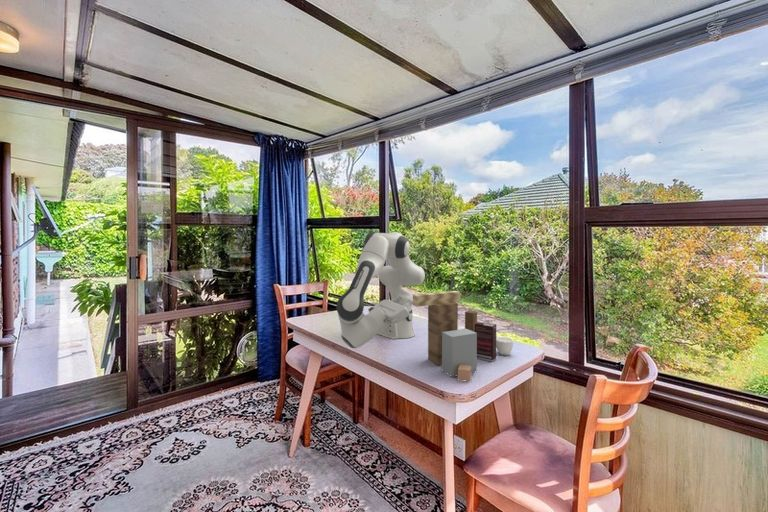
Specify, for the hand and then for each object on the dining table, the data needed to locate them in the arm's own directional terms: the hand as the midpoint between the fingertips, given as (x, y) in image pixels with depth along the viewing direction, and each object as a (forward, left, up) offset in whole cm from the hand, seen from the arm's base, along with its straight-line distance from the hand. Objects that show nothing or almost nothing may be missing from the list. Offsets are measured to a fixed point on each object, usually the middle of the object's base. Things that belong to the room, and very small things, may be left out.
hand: (406, 299), depth 136 cm
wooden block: (+12, +38, -29) cm, 49 cm away
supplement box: (+23, +30, -29) cm, 48 cm away
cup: (+28, +42, -29) cm, 58 cm away
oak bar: (+7, +14, -3) cm, 16 cm away
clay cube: (+24, +5, -29) cm, 38 cm away
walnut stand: (+9, +16, -29) cm, 34 cm away
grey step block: (+19, +10, -29) cm, 36 cm away
